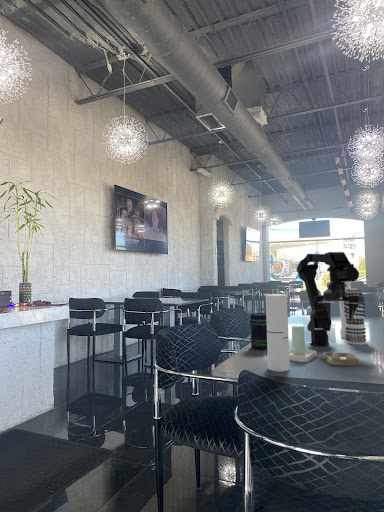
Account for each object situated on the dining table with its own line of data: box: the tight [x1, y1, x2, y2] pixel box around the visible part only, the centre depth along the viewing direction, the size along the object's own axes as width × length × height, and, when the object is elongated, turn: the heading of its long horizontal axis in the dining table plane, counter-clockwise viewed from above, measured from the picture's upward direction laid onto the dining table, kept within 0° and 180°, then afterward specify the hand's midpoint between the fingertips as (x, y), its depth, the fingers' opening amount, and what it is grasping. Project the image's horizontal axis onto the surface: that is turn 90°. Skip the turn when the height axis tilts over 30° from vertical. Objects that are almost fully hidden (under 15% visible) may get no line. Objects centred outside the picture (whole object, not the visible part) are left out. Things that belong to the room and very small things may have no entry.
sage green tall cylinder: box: [291, 325, 306, 356], centre depth 134 cm, size 5×5×11 cm
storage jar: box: [249, 312, 267, 352], centre depth 153 cm, size 10×10×15 cm
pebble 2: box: [346, 352, 356, 360], centre depth 122 cm, size 3×3×3 cm
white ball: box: [331, 352, 340, 359], centre depth 123 cm, size 3×3×3 cm
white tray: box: [289, 347, 318, 364], centre depth 133 cm, size 12×10×2 cm
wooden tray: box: [321, 352, 362, 367], centre depth 126 cm, size 12×10×2 cm
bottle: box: [338, 281, 352, 340], centre depth 175 cm, size 8×8×30 cm
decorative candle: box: [343, 288, 367, 346], centre depth 161 cm, size 9×9×25 cm
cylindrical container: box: [265, 293, 291, 373], centre depth 119 cm, size 7×7×25 cm
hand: (339, 319), depth 143 cm, fingers open, 9 cm apart
